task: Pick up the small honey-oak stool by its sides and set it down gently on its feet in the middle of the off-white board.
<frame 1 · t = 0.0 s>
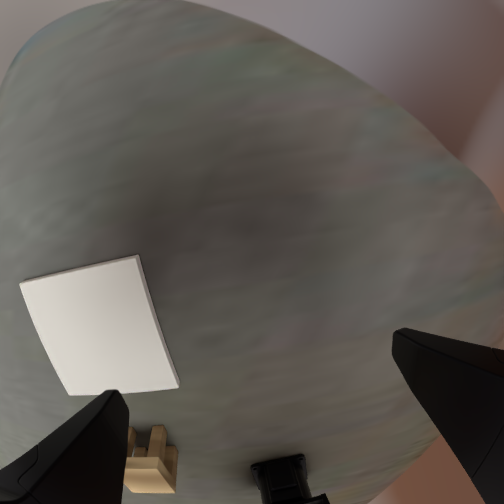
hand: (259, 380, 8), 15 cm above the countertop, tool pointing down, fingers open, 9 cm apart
mini stool: (150, 440, 26), on the countertop
board: (97, 333, 23), on the countertop
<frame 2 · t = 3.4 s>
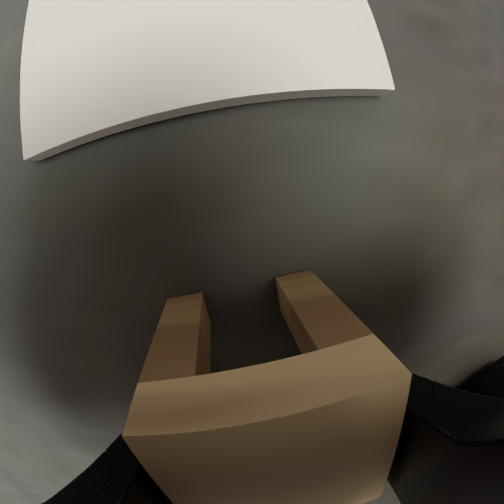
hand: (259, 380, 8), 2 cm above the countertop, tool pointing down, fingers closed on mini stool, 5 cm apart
mini stool: (251, 346, 10), on the countertop, touching gripper
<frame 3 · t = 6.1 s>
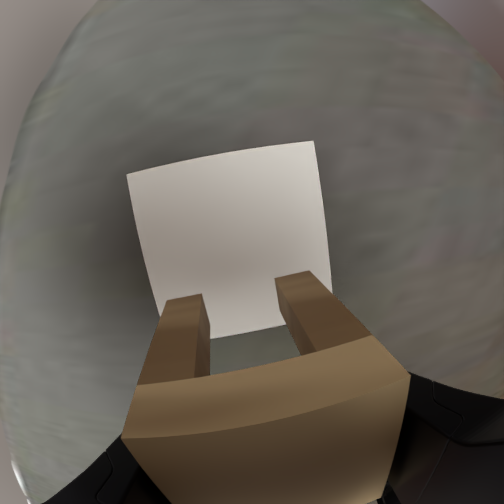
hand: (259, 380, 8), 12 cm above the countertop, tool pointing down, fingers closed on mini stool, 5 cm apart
mini stool: (251, 347, 10), point 10 cm above the countertop, touching gripper
board: (235, 245, 20), on the countertop
when the fingers open (4 cm above the countertop, at t = 8.8 s): mini stool drops 1 cm, resting on board.
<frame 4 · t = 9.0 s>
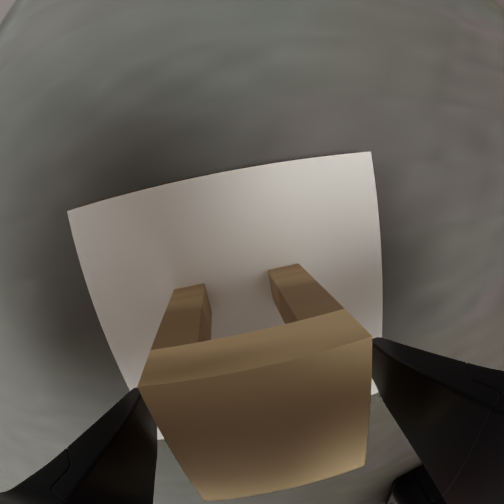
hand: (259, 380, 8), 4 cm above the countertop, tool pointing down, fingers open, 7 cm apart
mini stool: (248, 332, 12), point 1 cm above the countertop, touching board
board: (245, 315, 13), on the countertop
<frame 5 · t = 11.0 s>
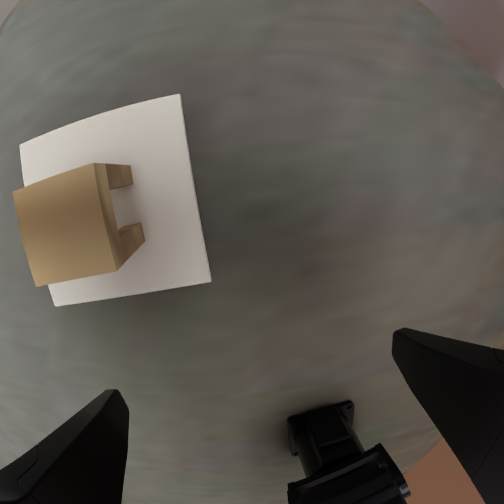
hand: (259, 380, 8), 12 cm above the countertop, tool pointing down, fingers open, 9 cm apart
mini stool: (102, 211, 17), point 1 cm above the countertop, touching board
board: (107, 206, 18), on the countertop
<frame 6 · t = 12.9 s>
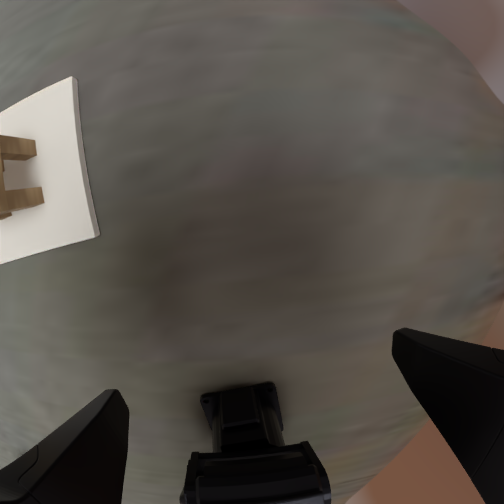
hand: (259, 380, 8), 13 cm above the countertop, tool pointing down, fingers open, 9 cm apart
mini stool: (16, 180, 16), point 1 cm above the countertop, touching board
board: (23, 177, 17), on the countertop
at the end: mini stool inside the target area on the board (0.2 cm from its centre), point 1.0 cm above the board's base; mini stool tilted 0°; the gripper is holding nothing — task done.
